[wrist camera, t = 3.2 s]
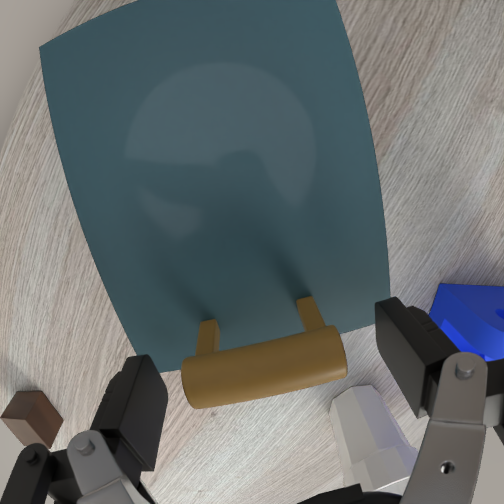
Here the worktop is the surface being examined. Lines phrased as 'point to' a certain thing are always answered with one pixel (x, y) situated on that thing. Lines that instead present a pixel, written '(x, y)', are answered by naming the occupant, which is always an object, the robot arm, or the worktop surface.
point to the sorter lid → (224, 186)
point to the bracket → (472, 318)
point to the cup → (370, 442)
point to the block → (32, 418)
